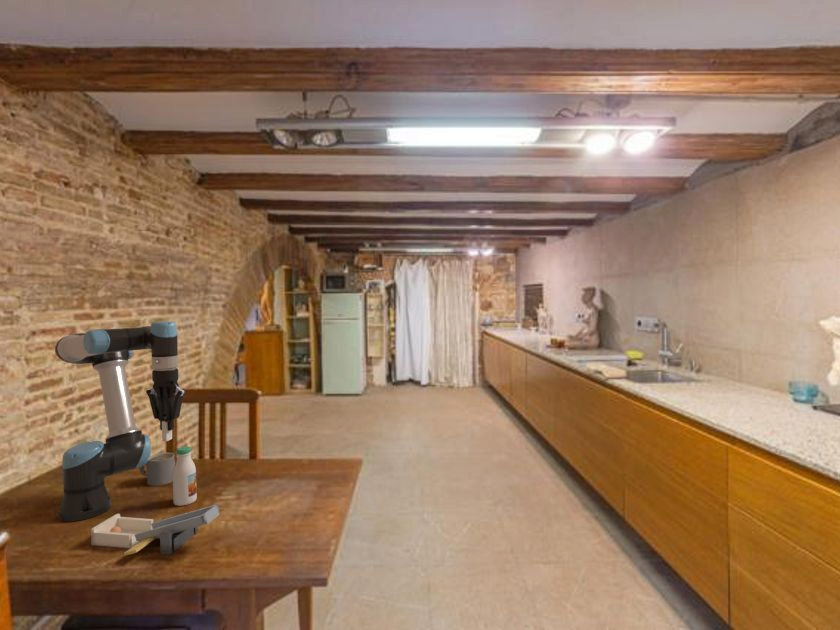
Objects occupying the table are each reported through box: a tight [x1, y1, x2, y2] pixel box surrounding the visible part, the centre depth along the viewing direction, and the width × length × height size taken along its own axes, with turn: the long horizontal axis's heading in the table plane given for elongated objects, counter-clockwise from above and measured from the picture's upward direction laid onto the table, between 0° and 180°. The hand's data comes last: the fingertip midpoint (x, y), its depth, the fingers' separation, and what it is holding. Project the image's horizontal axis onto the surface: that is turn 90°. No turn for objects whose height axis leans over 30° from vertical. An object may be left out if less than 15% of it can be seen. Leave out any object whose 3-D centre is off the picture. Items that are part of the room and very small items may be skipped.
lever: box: [123, 503, 221, 557], centre depth 137 cm, size 24×16×3 cm, turn 81°
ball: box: [110, 526, 121, 533], centre depth 144 cm, size 3×3×3 cm
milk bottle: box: [172, 446, 198, 507], centre depth 168 cm, size 8×8×20 cm
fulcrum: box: [159, 511, 199, 556], centre depth 140 cm, size 3×13×7 cm, turn 171°
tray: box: [90, 513, 154, 549], centre depth 143 cm, size 13×10×5 cm
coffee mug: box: [139, 452, 176, 487], centre depth 188 cm, size 13×10×10 cm
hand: (167, 439), depth 151 cm, fingers closed
